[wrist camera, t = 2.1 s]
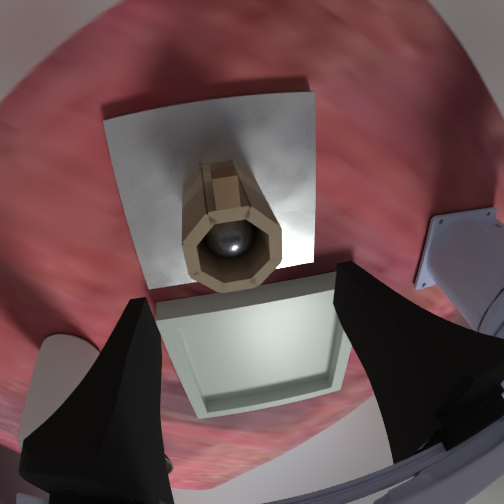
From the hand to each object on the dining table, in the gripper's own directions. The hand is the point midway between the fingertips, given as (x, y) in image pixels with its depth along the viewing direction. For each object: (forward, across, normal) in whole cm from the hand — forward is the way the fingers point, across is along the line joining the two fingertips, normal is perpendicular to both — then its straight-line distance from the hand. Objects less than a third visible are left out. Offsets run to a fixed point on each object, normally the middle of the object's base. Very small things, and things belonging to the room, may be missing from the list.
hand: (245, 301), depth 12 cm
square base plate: (+10, 0, 0) cm, 10 cm away
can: (+10, +16, +13) cm, 23 cm away
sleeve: (+9, 0, 0) cm, 9 cm away
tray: (+10, -2, +16) cm, 19 cm away
